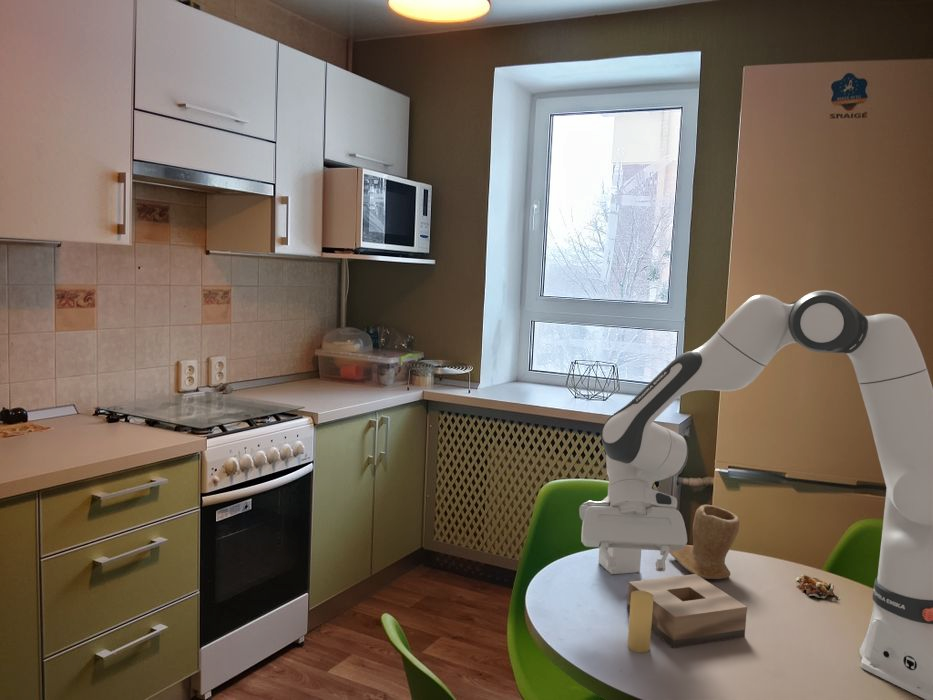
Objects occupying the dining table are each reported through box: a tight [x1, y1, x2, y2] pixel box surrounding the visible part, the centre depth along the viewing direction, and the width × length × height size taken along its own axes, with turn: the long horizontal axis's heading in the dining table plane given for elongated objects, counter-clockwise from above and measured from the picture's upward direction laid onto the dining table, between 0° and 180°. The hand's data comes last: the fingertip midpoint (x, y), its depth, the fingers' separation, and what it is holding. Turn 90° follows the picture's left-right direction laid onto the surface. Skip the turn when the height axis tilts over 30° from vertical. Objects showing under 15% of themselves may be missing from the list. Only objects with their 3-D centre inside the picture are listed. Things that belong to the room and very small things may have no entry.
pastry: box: [795, 573, 841, 601], centre depth 175 cm, size 7×12×4 cm, turn 4°
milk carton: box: [598, 495, 642, 575], centre depth 181 cm, size 7×7×19 cm
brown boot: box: [669, 504, 740, 580], centre depth 182 cm, size 15×12×15 cm
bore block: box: [626, 573, 748, 649], centre depth 155 cm, size 16×16×6 cm
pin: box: [627, 591, 654, 654], centre depth 145 cm, size 4×4×10 cm
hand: (635, 568), depth 151 cm, fingers open, 8 cm apart
